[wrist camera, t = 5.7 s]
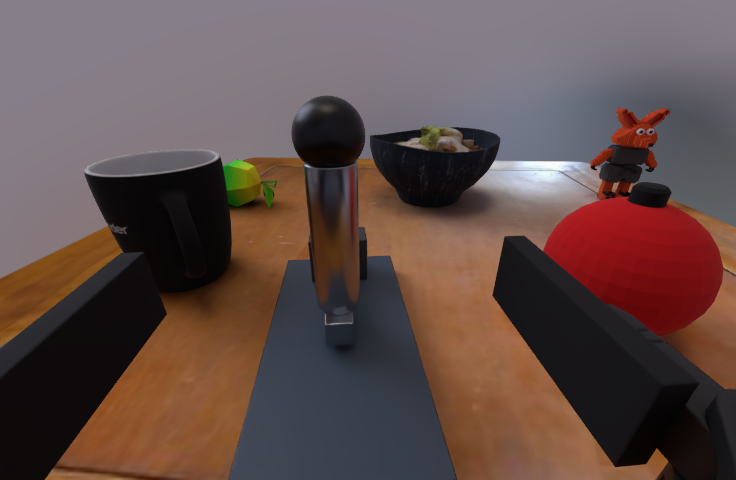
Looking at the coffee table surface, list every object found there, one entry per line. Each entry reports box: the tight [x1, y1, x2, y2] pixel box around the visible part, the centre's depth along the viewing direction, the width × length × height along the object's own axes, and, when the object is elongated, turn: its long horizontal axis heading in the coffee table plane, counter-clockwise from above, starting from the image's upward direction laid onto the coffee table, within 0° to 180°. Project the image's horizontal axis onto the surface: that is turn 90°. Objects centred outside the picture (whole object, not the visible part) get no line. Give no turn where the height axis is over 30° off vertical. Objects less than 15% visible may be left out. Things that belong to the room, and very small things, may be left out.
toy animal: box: [590, 108, 670, 200], centre depth 42 cm, size 8×6×12 cm
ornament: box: [544, 182, 723, 336], centre depth 21 cm, size 9×9×10 cm
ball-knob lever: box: [292, 96, 365, 346], centre depth 20 cm, size 10×3×13 cm, turn 5°
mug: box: [84, 149, 232, 292], centre depth 26 cm, size 12×9×10 cm
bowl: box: [370, 126, 500, 207], centre depth 45 cm, size 17×17×10 cm
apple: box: [223, 160, 277, 209], centre depth 44 cm, size 7×6×9 cm
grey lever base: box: [228, 227, 457, 480], centre depth 20 cm, size 18×9×5 cm, turn 5°
